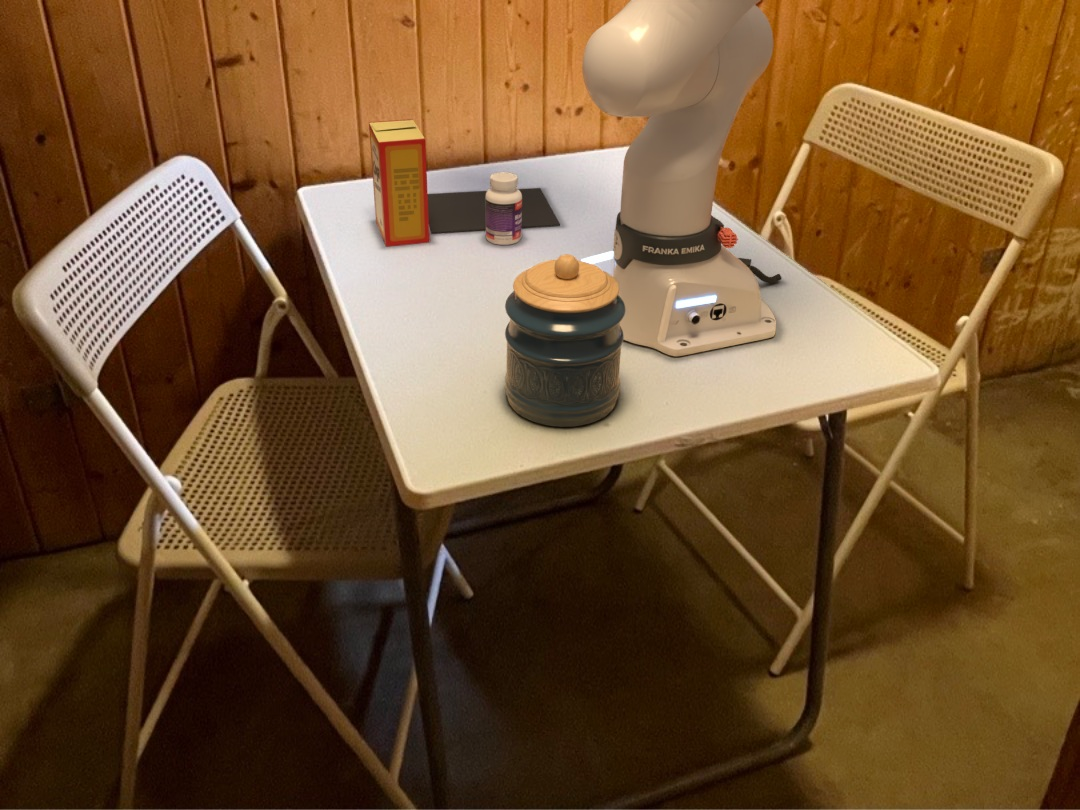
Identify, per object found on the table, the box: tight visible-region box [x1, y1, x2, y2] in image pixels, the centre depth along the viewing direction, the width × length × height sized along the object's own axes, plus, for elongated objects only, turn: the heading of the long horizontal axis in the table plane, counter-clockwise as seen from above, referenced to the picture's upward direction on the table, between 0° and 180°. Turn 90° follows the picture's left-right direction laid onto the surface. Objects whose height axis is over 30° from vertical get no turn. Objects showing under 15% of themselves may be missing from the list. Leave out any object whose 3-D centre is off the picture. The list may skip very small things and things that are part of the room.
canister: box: [504, 253, 626, 428], centre depth 110 cm, size 13×13×18 cm
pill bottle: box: [485, 171, 523, 246], centre depth 150 cm, size 5×5×10 cm
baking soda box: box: [368, 118, 431, 248], centre depth 149 cm, size 10×6×16 cm
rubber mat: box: [428, 187, 561, 235], centre depth 161 cm, size 20×16×1 cm
